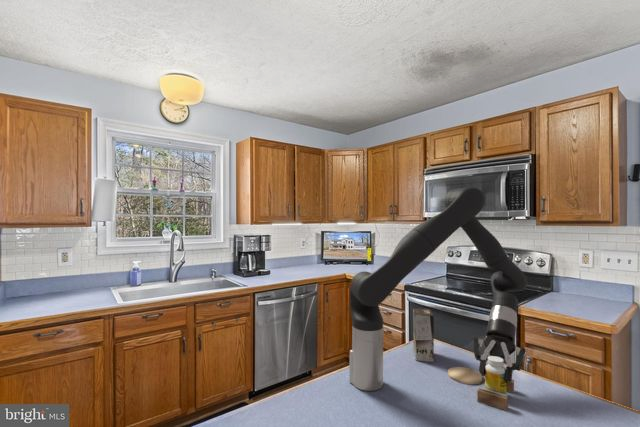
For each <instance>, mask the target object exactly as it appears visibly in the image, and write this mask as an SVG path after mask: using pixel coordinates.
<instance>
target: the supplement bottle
mask: <svg viewBox="0 0 640 427" xmlns="http://www.w3.org/2000/svg"><path fill="white" fill-rule="evenodd" d="M504 360H505V359H504V358H501V357H498V356H489V357H488V361H487V363H486V366H485V377H484V389H487V390H491V391H494V392H497V393H501V394H504V395H507V391H506V383H505V373H506V366H504V364H505V362H504Z"/></svg>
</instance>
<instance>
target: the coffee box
mask: <svg viewBox="0 0 640 427" xmlns="http://www.w3.org/2000/svg"><path fill="white" fill-rule="evenodd" d="M412 312H413V314H412V315H413V317H412V318H413V320H412V321H413V354H414V358H415V361H418V362H419V361H420V362H427V363H428V362H431V363H434V358H435V356H434V354H435V353H434V352H435V351H434V350H435V348H434V346H435V344H434V341H435V340H434V335H435V332H434V330H435V328H434V327H435V326H434V325H435V323H434V322H435V315H434V314H433V312H432V309H430V308H429V309H428V308H413V311H412Z"/></svg>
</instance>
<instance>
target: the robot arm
mask: <svg viewBox="0 0 640 427" xmlns="http://www.w3.org/2000/svg"><path fill="white" fill-rule="evenodd" d="M485 203H486V197H485V193H484V192H483V191H482V190H481V189H479V188H477V187H471V186H468V187H467V186H466V187H461V188H460V187H458V188H454V189H451V190H449V191H448V192H447V193H446V195H445V197H444V206H445V209H444V210H443V211H441V212H440V213H438V214H436V215H434V216H432V217H430V218H428V219H426V220H424V221H423V222H421V223H419V224H418V225H416V226H414V228H413V229H411V230H409V232H408V233H407V234H405V235H404V236H403V237H402V238H401V240H400V241H399V242H398V243H397V245H396V247H394V248H395V249H394V250H393V252H392V254H391V255H390V256H389V258H388V260H387V261H386V262H384V263H383V264H382V265H381V266H380V267H378V268H377V269H376V270H375V271H373V272H372V273H371V272H369V271H360V272H357V273H356V274H355V275H354V276H353V277H352V279H351V281H350V285H349V305H350V308H349V310H350V316H351V323H352V324H351V325H352V326H351V328H352V331H351V332H352V333H351V334H352V337H351V338H352V339H351V340H352V341H351V343H352V345H351V347H352V348H351V349H350V350H349V365H348V366H349V372H348V373H349V374H348V376H349V380H348V381H349V383H351V384H352V385H353V386H354V387H355V388H357V389H358V390H362V391H366V392H367V391H369V392H371V391H372V392H373V391H378V390H380V389H381V388H383V386H384V319H383V316H382V314H381V313H382V312H381V310H380V306H379V305H380V304H382V303H383V302H384V301H385V300H386V299H387V298H388V296H390V294H391V293H392V292H393V291H394V289H395V288H397V287H398V285H399V284H400V283H401V282H402V281H403V280H404V278H406V277H407V276H408V275H409V274H411V272H413V271H414V270H415V269H416V268H417V267H418V266H419V265H420V264H422V262H424V261H426V260H427V258H428V257H429V256H430V255H432V254H433V253H434V252H435V251H436V250H437V249H438V248H439V247H440V246H441V245H442V244H443V243H444V242H445V241H446V240H448V238H450V237H451V235H453V234H454V233H455V232H457V230H458V229H459V228H461V229H462V231H463V232H465V234H466V236H467V237H468V238H469V239H470V240H471V242H472V243H473V245H474V247H475V248H476V250H477V252H478V253H479V255H480V257H481V259H482V260H483V262H484V264H485V265H486V267H487V268H488V269H489V270H491V271H496V272H493V273H492V274H491V276H490V285H491V292H492V298H493V299H492V303H491V308H490V313H489V317H488V322H487V327H486V334H485V337H484V338H482V339H481V338H478V337H474V338H473V352H474V353H473V354H474V357H475V360H476V361H479V366H478V367H479V368H478V370H479V371H478V372H479V373H480V374H481V375H482V377H484V378H485V366H486V364H488V357H489V356H497V357H500V358H502V359H504V360H505V363H506V365H507V366H505V369H506V373H505V383H509V382H511V380H512V378H513V373H514V372H513V371H518V372H519V371H521V370H522V368H523V365H524V362H525V359H526V356H527V350H526V348H525V347H519V346H516V344H515V342H516V335H517V334H516V333H517V328H518V325H517V323H518V316H517V315H518V307H519V299H518V298H517V296H515V295H514V294H513V292H522V291H524V290H526V288H527V286H528V278H527V277H526V275H525V273H524V272H523V270H522V269H521V268H520V267H518V265H517V264H515V262H513V261H512V260H511V259H510V258H509V257H508V254H506V251H505V249H504V248H503V246H502V244H501V243H500V242H499V240H498V239H497V238H496V236H494V234H493V233H491V232H490V231H489V230H488V229H487V228H486V227H485V226H484V225H483V224H482V223H481V221H480V220H478V218H477V217H476V216H477V215H478V214H480V212H481V211H482V210H483V208H484V206H485ZM511 292H512V293H511ZM483 345H484V346H485V349H484V351H483V353H482V355H481V352H480V351H481V350H480V348H482V347H483ZM514 352H516V355H517V357H516V360H515V363H514V362H513V363H512V360H511V355H512V354H513V353H514Z"/></svg>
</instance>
